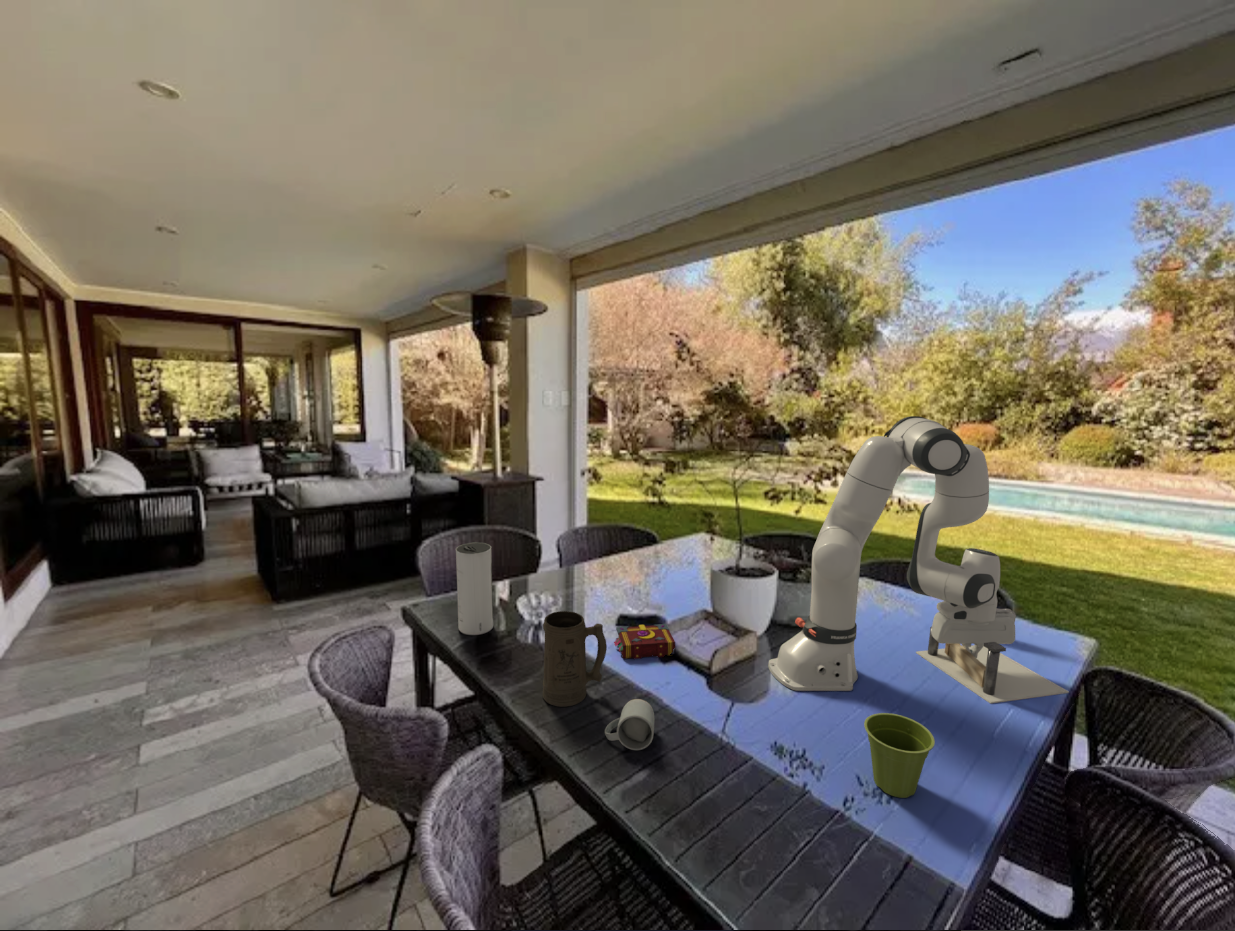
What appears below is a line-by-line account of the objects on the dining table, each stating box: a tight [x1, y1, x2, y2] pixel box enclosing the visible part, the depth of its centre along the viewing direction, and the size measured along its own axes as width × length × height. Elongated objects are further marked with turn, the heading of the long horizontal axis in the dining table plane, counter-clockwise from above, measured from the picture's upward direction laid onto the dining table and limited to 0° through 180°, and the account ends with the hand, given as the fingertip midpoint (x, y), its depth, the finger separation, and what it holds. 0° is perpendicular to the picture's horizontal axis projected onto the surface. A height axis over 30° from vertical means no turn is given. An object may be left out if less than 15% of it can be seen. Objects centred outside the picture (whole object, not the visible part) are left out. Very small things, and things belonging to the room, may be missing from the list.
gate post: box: [983, 642, 1007, 695], centre depth 134 cm, size 3×3×13 cm
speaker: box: [455, 542, 494, 636], centre depth 166 cm, size 11×10×26 cm
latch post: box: [927, 626, 940, 656], centre depth 153 cm, size 2×2×8 cm
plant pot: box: [863, 712, 936, 799], centre depth 104 cm, size 12×12×11 cm
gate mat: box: [915, 644, 1070, 704], centre depth 146 cm, size 23×24×1 cm
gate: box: [944, 643, 986, 687], centre depth 145 cm, size 17×2×6 cm, turn 176°
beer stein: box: [542, 610, 608, 708], centre depth 133 cm, size 15×11×20 cm
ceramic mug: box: [604, 698, 655, 751], centre depth 118 cm, size 11×8×8 cm
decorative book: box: [613, 623, 676, 660], centre depth 156 cm, size 11×16×5 cm
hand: (970, 657), depth 147 cm, fingers closed
